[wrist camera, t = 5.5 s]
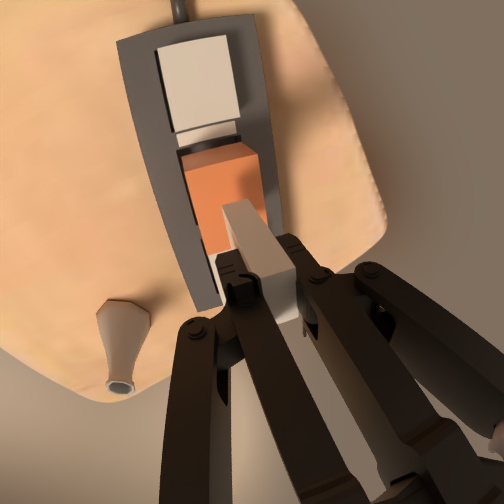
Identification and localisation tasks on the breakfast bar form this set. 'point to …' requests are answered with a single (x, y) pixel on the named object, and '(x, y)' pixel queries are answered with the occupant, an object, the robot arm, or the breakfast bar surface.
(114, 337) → the flask
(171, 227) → the power strip
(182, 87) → the switch
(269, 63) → the breakfast bar surface
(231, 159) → the switch
